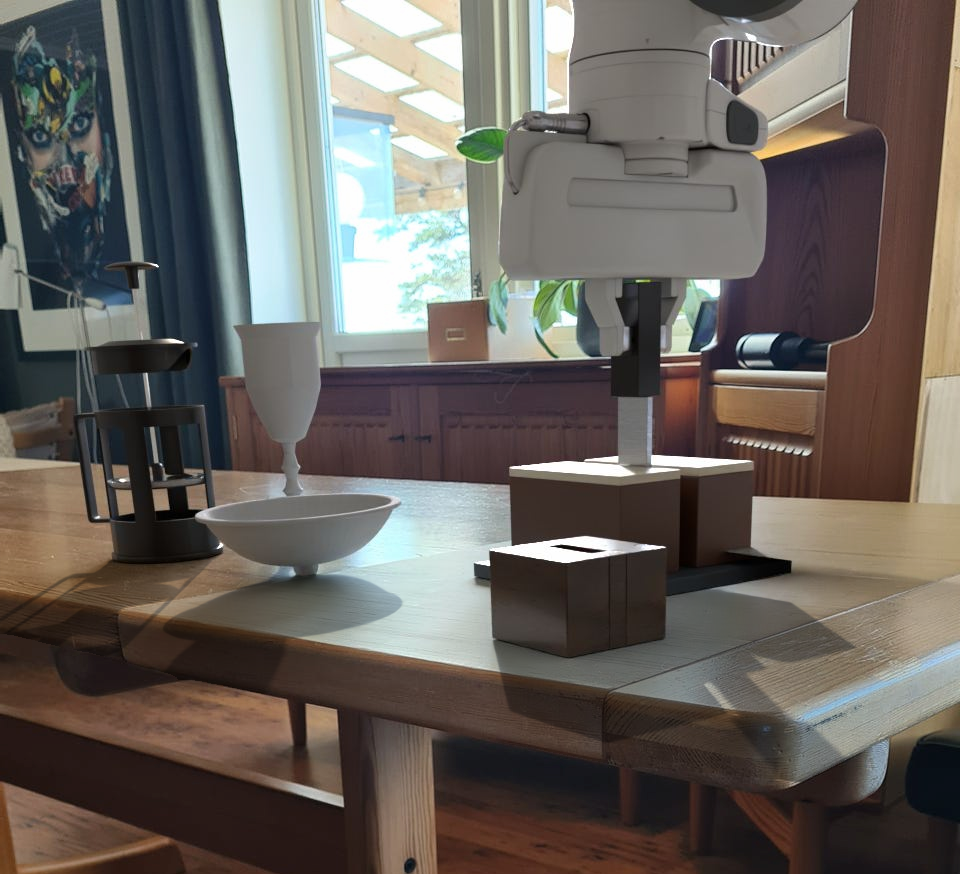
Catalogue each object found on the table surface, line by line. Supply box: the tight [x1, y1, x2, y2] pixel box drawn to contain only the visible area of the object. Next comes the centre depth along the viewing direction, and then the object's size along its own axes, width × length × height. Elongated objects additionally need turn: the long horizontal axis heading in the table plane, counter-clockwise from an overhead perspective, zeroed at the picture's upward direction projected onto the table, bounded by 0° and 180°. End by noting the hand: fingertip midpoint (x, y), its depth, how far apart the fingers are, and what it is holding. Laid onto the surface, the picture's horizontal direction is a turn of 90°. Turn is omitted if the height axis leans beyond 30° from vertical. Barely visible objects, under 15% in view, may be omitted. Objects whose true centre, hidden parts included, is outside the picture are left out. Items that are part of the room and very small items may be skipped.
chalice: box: [232, 321, 323, 497], centre depth 108 cm, size 7×7×18 cm
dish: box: [195, 492, 402, 576], centre depth 97 cm, size 18×14×5 cm
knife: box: [610, 281, 662, 468], centre depth 87 cm, size 2×3×17 cm, turn 35°
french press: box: [72, 261, 224, 564], centre depth 106 cm, size 12×9×23 cm
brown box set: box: [473, 454, 793, 596], centre depth 90 cm, size 16×16×8 cm
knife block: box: [488, 536, 667, 658], centre depth 72 cm, size 7×7×5 cm
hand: (636, 355), depth 86 cm, fingers closed on knife, 2 cm apart
